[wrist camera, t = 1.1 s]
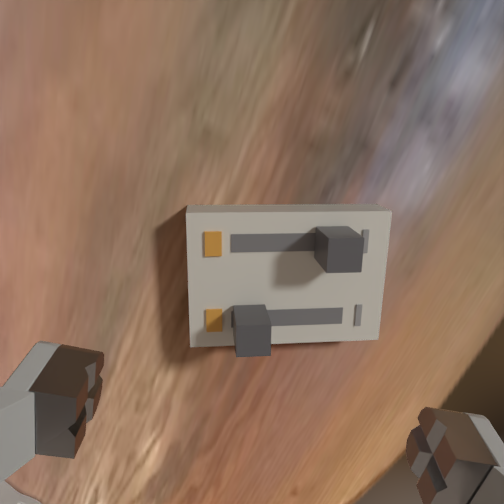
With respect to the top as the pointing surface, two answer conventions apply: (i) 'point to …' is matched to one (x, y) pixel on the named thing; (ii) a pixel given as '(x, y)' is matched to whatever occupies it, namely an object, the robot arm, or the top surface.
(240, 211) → the switch housing
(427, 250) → the top surface
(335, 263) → the near tab
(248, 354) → the far tab
